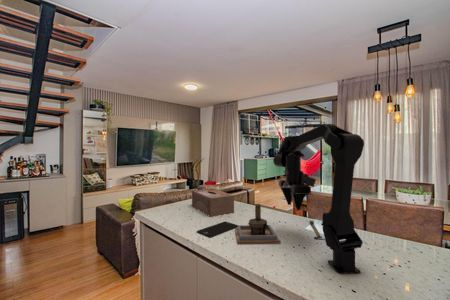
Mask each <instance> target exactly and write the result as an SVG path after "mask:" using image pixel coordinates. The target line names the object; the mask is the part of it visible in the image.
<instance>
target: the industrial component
mask: <svg viewBox="0 0 450 300" xmlns="http://www.w3.org/2000/svg"><path fill="white" fill-rule="evenodd" d="M254 206H255V207H254V209H255V211H254V213H255V217H254V218H251V219H249V220H248V222H247V223H248V224H247V225H249V226H250V227H251V234H253V235H265V229H266V228H267V227H268V225H269V224H268V221H267V220H266V219H264V218H262V217H261V215H262V214H261V212H262V211H261V209H262V208H261V204H260V203H255V205H254Z"/></svg>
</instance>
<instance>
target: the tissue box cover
mask: <svg viewBox="0 0 450 300" xmlns="http://www.w3.org/2000/svg"><path fill="white" fill-rule="evenodd" d="M191 206H192V207H193V208H194V207H195V208H194V209H196V208H197V209H196V210H198V209H199V210H200V212H201V211H202V212H201V213H203V212H204V213H203V214H205V215H206V214H207V215H206V216H208V215H209V216H208V217H210V218H213V216H214V217H220V216H225V215H224V214H226V215H231V214H234V213H235V195H234V194H231V193H227V192H225V191H222V190H219V189H216V188H213V187H212V188H203V189H194V190H191ZM199 210H198V211H199ZM230 213H231V214H230ZM219 215H220V216H219Z"/></svg>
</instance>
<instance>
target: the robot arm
mask: <svg viewBox="0 0 450 300" xmlns="http://www.w3.org/2000/svg"><path fill="white" fill-rule="evenodd" d="M321 140H323V141H324V143H325V144H326V145H327V146H329V147H330V155H331V158H332V159H333V161H334V163H335V165H334V174H333V185H332V193H331V194H332V196H331V204H330V205H331V206H330V210H329V211H328V212H327V211H326V212H323V214H322V217H321V218H322V221H321V224H320V225H321V226H322V232H323V236H324V237H323V238H324V239H325V240H324V241H325V244H326V246H327V247H329V249H330V250H332V260H331V259H330V260H329V259H328V260H327V263H328V264H329V266H330V267H332V268H333V269H334V270H335V271H336V272H337V273H338V274H360V273H361V270H360V268H358V267H356V250H355V249H360V248H362V246H363V243H364V242H363V240H362V239H361V237H360V236H359V234H358V232H357V231H356V230H355V223H354V219H353V217H352V215H351V212H350V210H351V209H350V207H351V200H352V190H353V184H354V183H353V181H354V172H355V166H356V164H357V162H358V161H359V159H360V158H361V157H362V153H363V150H364V148H365V141H364V138H362V137H361V136H360V135H359V134H356V133H352V132H350V131H348V130H345V129H343V128H340V127H339V126H338V125H335V124H334V123H322V124H320V125H319V126H317V127H315V128H312V129H311V130H308V131H306V132H303V133H301V134H299V135H290V136H285V137H284V138H283V140H282V142H281V145H280V146H279V149H278V151H277V152H276V155H274V157H273V159H272V160H273V165H274V166H275V167H279V168H285V170H284V171H283V173H284V174H285V178H284V179H280V180H279V181H278V182H279V183H278V187H279V188H280V190H281V192H282V194H283V195H284V199H285V201H286V203H287V205H288V206H291V205H292V201H293V204H294V207H295V209H296V211H298V212H300V211H301V208H302V205H303V201H304V199H305V197H307V196H308V195H310V194H312V187H315V184H316V181H317V179H316V178H313V177H310V176H309V174H308V173H307V174H306V173H304V171H303V170H302V169H301V168H302V165H301V164H302V162H301V161H302V160H301V158H304V157H305V155H304V153H302V151H303V150H304V149H306V147H307V146H308V145H311V144H313V143H316V142H319V141H321Z"/></svg>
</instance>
